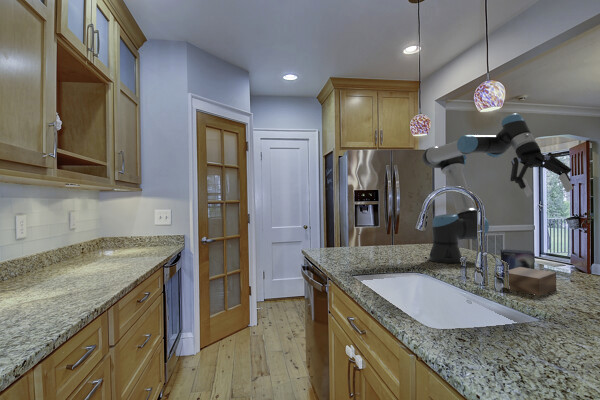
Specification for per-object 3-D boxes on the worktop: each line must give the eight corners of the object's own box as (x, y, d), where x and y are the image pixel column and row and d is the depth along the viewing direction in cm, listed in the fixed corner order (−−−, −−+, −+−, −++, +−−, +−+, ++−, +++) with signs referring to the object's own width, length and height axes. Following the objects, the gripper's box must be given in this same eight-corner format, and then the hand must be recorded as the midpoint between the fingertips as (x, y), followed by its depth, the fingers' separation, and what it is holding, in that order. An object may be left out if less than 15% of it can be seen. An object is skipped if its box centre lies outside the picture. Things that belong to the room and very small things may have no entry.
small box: (502, 277, 121) (501, 251, 121) (500, 274, 127) (499, 248, 127) (535, 280, 116) (535, 253, 116) (531, 276, 122) (531, 250, 122)
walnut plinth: (501, 289, 107) (501, 271, 107) (519, 282, 114) (519, 266, 114) (539, 297, 97) (539, 278, 97) (556, 289, 105) (556, 272, 105)
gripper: (496, 146, 120) (517, 192, 110) (565, 135, 117) (594, 182, 107) (489, 157, 127) (508, 202, 116) (554, 147, 123) (580, 193, 113)
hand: (549, 192), depth 111 cm, fingers open, 13 cm apart
